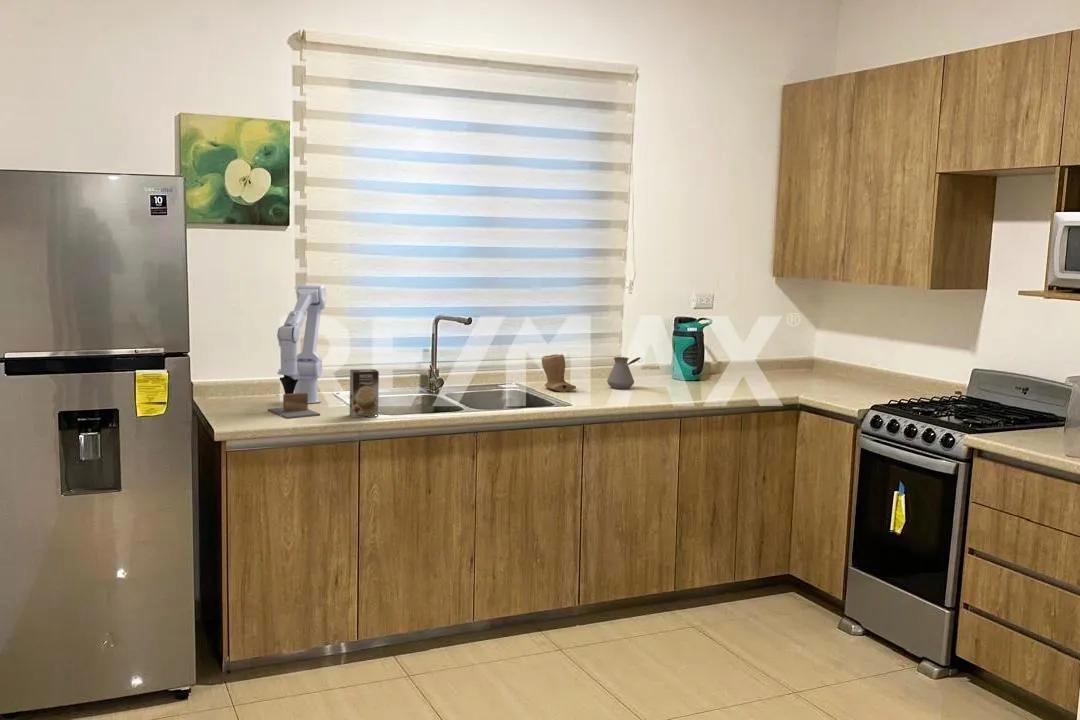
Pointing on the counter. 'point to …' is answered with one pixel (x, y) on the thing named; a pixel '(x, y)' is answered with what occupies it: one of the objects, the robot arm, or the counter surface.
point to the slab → (295, 402)
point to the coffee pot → (621, 374)
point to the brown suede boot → (556, 373)
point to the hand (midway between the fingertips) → (289, 396)
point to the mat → (294, 413)
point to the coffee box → (364, 392)
